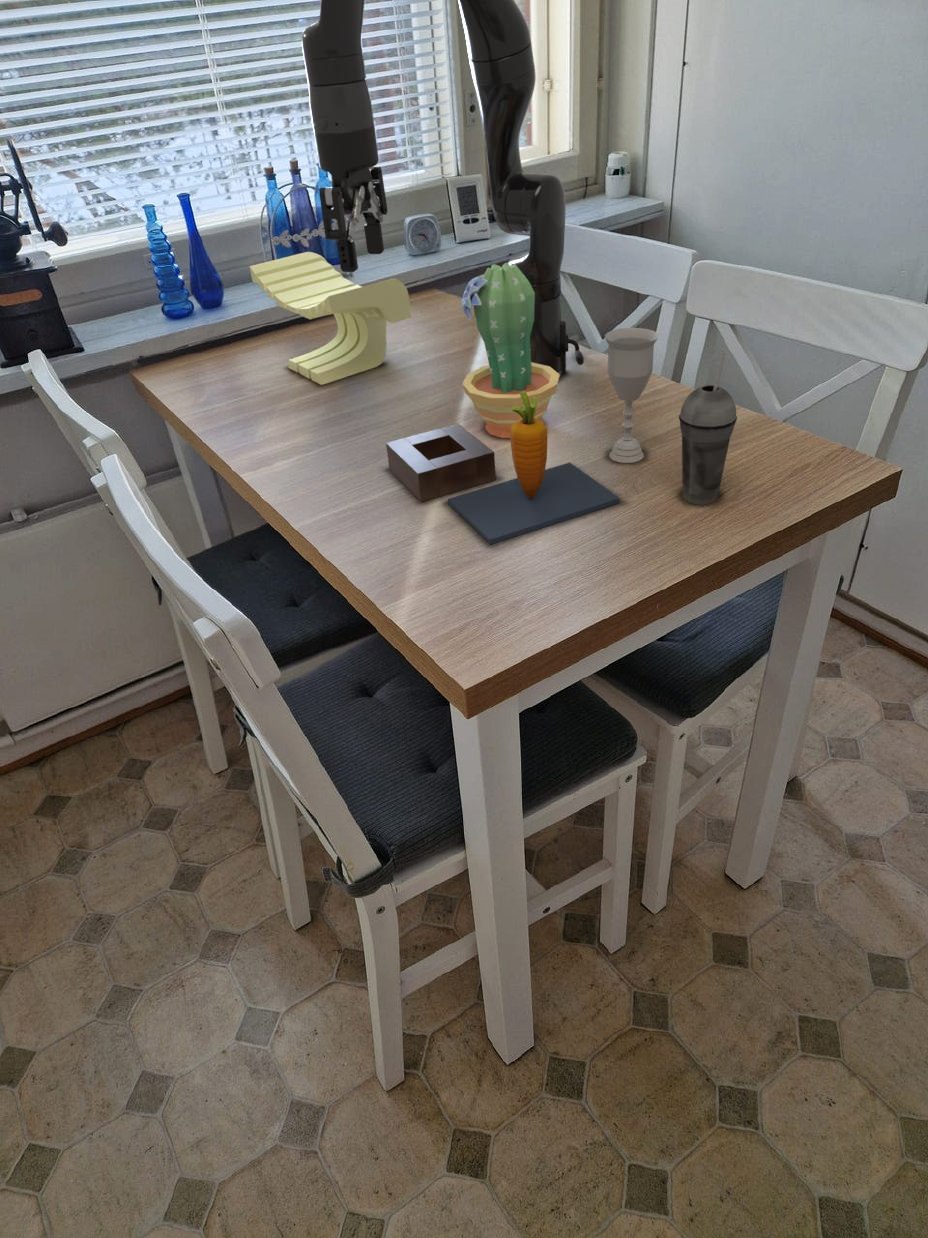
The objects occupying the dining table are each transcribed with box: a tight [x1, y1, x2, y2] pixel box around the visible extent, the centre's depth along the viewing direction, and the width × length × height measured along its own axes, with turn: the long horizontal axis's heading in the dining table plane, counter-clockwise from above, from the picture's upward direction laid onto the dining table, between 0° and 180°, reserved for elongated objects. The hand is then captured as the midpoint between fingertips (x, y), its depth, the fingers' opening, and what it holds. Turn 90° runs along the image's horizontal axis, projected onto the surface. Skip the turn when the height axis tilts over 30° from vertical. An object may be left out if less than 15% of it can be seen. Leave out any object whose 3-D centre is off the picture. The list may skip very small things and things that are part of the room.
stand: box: [385, 423, 497, 503], centre depth 130 cm, size 12×12×4 cm
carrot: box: [509, 391, 548, 499], centre depth 117 cm, size 5×5×15 cm
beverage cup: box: [678, 351, 738, 506], centre depth 114 cm, size 7×7×20 cm
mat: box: [447, 462, 621, 545], centre depth 122 cm, size 20×13×1 cm, turn 116°
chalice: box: [604, 327, 659, 464], centre depth 127 cm, size 7×7×18 cm
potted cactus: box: [461, 262, 560, 439], centre depth 136 cm, size 15×15×25 cm
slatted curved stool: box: [249, 251, 412, 386], centre depth 167 cm, size 30×16×18 cm, turn 37°
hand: (363, 261), depth 118 cm, fingers open, 8 cm apart
